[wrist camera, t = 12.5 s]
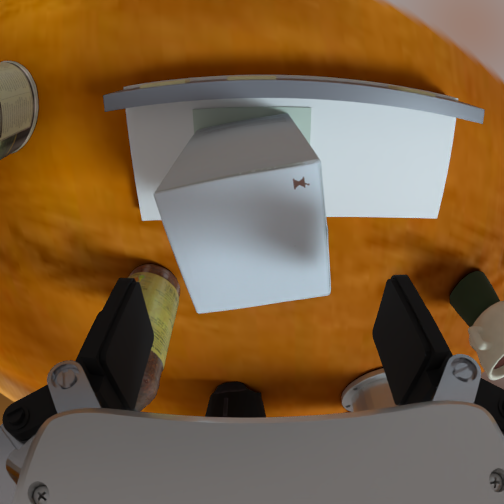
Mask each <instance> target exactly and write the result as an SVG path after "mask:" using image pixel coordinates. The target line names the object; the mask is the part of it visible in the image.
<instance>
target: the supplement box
mask: <svg viewBox="0 0 504 504" xmlns="http://www.w3.org/2000/svg"><path fill="white" fill-rule="evenodd" d="M154 198H155V201H156V204H157V207H158V210H159V213H160V216H161V219H162V222H163V225H164V228H165V231H166V234H167V236H168V239H169V242H170V245H171V247H172V250H173V253H174V255H175V258H176V261H177V263H178V266H179V269H180V271H181V274H182V276H183V279H184V282H185V284H186V287H187V289H188V291H189V294H190V296H191V299H192V301H193V304H194V306H195V309H196V312H197V313H208V312H216V311H224V310H231V309H239V308H246V307H253V306H260V305H267V304H273V303H279V302H285V301H292V300H300V299H307V298H313V297H320V296H327V295H329V294H330V292H331V281H330V264H329V247H328V227H327V221H326V210H325V198H324V187H323V177H322V166H321V161H320V159H319V157H318V156H317V154H316V153H315V151H314V150H313V148H312V147H311V145H310V144H309V143H308V141H307V140H306V138H305V137H304V135H303V134H302V132H301V131H300V129H299V128H298V127H297V125H296V124H295V123H294V121H293V120H292V118H291V117H290V116H289V114H288V113H284V114H278V115H271V116H265V117H259V118H253V119H247V120H242V121H236V122H231V123H226V124H221V125H216V126H211V127H206V128H202V129H198V130H197V131H196V132H195V133H194V135H193V136H192V137H191V139H190V140H189V142H188V143H187V145H186V146H185V148H184V149H183V151H182V152H181V153H180V155H179V156H178V158H177V159H176V161H175V162H174V164H173V165H172V167H171V168H170V170H169V171H168V173H167V174H166V176H165V177H164V179H163V180H162V182H161V184H160V185H159V187H158V188H157V190H156V191H155V193H154Z"/></svg>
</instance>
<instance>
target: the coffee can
mask: <svg viewBox="0 0 504 504" xmlns="http://www.w3.org/2000/svg"><path fill="white" fill-rule="evenodd" d="M38 108H39V104H38V93H37V88H36V84H35V82H34V80H33V78H32V76H31V74H30V73H29V71H28V70H27V69H26V68H25V67H24V66H22V65H21V64H19V63H17V62H14V61H3V62H0V160H1V159H3V158H4V157H6V156H8V155H9V154H11V153H14V152H16V151H18V150H19V149H21V148H22V147H23V146H24V145H25V144H26V143H27V141H28V140H29V138H30V137H31V135H32V133H33V131H34V128H35V125H36V122H37V117H38Z"/></svg>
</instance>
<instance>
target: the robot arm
mask: <svg viewBox="0 0 504 504" xmlns="http://www.w3.org/2000/svg"><path fill="white" fill-rule="evenodd" d="M373 339H374V342H375V345H376V348H377V351H378V354H379V356H380V359H381V362H382V365H383V368H382V369H378V370H375V371H372V372H370V373H367V374H365V375H363V376H361V377H359V378H358V379H356V380H355V381H353V382H352V383H351V384H349V385H348V386H347V387H346V389H345V390H344V391H343V393H342V396H341V401H342V405H343V407H344V408H345V409H346V410H348V411H351V412H347V413H338V414H326V415H313V416H296V417H268V418H230V417H201V416H184V415H171V414H159V413H148V412H138V411H130V410H134V408H135V405H136V402H137V398H138V394H139V390H140V387H141V383H142V379H143V376H144V372H145V369H146V365H147V362H148V358H149V355H150V351H151V348H152V345H153V341H154V332H153V328H152V325H151V322H150V318H149V315H148V311H147V308H146V304H145V300H144V297H143V293H142V289H141V285H140V283H139V282H136V280H135V279H134V278H119V279H118V281H117V283H116V285H115V287H114V289H113V290H112V292H111V294H110V296H109V298H108V300H107V302H106V304H105V306H104V308H103V310H102V311H100V312H99V314H98V315H97V317H96V319H95V321H94V323H93V325H92V327H91V329H90V331H89V333H88V335H87V338H86V340H85V342H84V344H83V346H82V348H81V350H80V352H79V354H78V357H77V359H76V361H71V360H69V361H63V362H60V363H58V364H57V365H55V366H54V367H53V368H52V369H51V370H50V372H49V374H48V378H47V383H48V385H46V386H44V387H42V388H40V389H39V390H37V391H35V392H33V393H31V394H29V395H27V396H26V397H24V398H22V399H20V400H18V401H16V402H14V403H13V404H11V405H10V406H9V407H8V408H7V409H6V410H5V412H4V415H3V424H2V425H1V426H0V504H504V390H503V389H501V388H499V387H497V386H495V385H493V384H491V383H490V382H488V381H486V380H484V379H482V378H481V370H480V367H479V365H478V363H477V362H476V361H475V360H474V359H473V358H471V357H469V356H467V355H463V354H457V355H454V356H453V355H452V353H451V351H450V349H449V347H448V345H447V343H446V341H445V340H444V338H443V336H442V334H441V332H440V330H439V328H438V326H437V325H436V323H435V321H434V319H433V317H432V316H431V314H430V312H429V310H428V309H427V307H426V306H425V304H424V302H423V300H422V299H421V297H420V295H419V294H418V292H417V290H416V289H415V287H414V285H413V283H412V282H411V280H410V279H409V277H408V276H407V275H393V276H392V277H391V279H388V280H387V282H386V286H385V290H384V293H383V297H382V301H381V304H380V308H379V311H378V314H377V318H376V321H375V324H374V327H373Z"/></svg>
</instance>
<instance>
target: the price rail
mask: <svg viewBox="0 0 504 504" xmlns="http://www.w3.org/2000/svg"><path fill="white" fill-rule="evenodd" d="M233 98H299V99H321V100H336V101H349V102H359V103H369V104H378V105H386V106H393V107H400V108H407V109H413V110H419V111H425V112H431V113H436V114H441V115H446V116H451V117H456V118H460V119H465V120H469V121H473V122H477V123H481V124H483V118H484V109H481V108H478V107H475V106H472V105H469V104H466V103H463V102H460V101H457V100H453V99H449V98H444V97H440V96H436V94H432V93H428V92H425V91H420V90H415V89H409V88H404V87H398V86H392V85H388V87H385V86H378V85H370V84H362V83H353V82H343V81H332V80H318V79H298V78H276V76H229V77H227V79H211V80H197V81H190V79H184V80H174V81H165V82H157V83H149V84H145V85H141V86H140V87H136V88H130V89H124V90H120V91H116V92H113V93H109V94H106V95H103V99H104V108H105V112H106V111H112V110H118V109H125V108H132V107H139V106H146V105H154V104H163V103H173V102H184V101H196V100H211V99H233Z"/></svg>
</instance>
